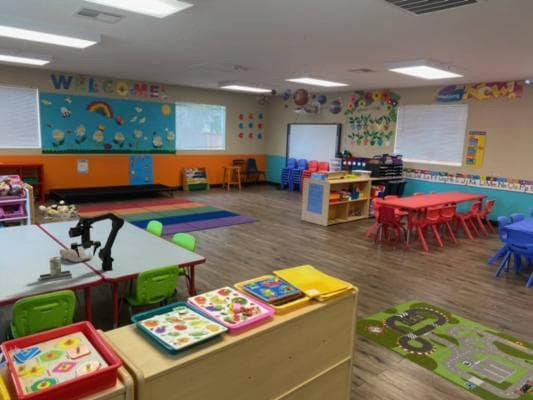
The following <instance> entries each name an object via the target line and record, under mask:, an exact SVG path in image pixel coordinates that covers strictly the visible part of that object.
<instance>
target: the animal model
mask: <svg viewBox="0 0 533 400" xmlns="http://www.w3.org/2000/svg"><path fill="white" fill-rule="evenodd" d="M74 243H77V244H79V243H78V242H77V241H75V242H74ZM88 249H89V248H86V249H83V247H78V252H79V257H78V255H77V253H76V251H75V250H73V249H71V247H70V248H68V249H66V248H65V249H60V250H59V255H60V258H63V259H65V260H68V261H71V262H74V263H80V262H84V261H86V260H89V259H90V260H91V259H93V254H92V253H90V252H89V254H87V255H86V253H85V251H86V250H88Z"/></svg>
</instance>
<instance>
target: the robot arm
mask: <svg viewBox="0 0 533 400" xmlns="http://www.w3.org/2000/svg"><path fill="white" fill-rule="evenodd" d="M106 220H110V221H111V230H110V233H109V235H108V237H107V239H106V241H105V245H104V246H103V248H101V247H102V243H101V241H100V240H95V241H94V240H91V229H93V228H94V226H92V225H93V224H95V223H97V222H101V221H106ZM124 225H125V219H124V218H123V217H119V216H118V215H116V214H114V213H113V212H110V211H108V212H105V213H101V214H98V215H97V214H96V215H93V216H89V215H88V216H87V215H86V216H81V217H80V218H79V220H78V222H77V224H76V225H75V226H73V227H71V226H70V227H69V230H68V233H67V234H68V237H69V238H70V239H73V238H79V237H80V239H81V241H80V243H78V242H77V243H78V244H77V243H75V242H73V243H72V242H71V243H70V248H71V249H73V250H75V251H76V253H77V255H78V257H79V252H78V249H79V248H81V247H83V249H86V248H88V249H91V248H92V247H93V249H92V253H93V254H92V257H95V255H96V251H97V250H98V249H99V251H98V253H97V254H98V255H97V256H98V258H99V259H100V261H101V270H102V271H103V272H108V271H113V262H114V261H115V258H114V257H112V248H113V245H114V243H115V240H116V238H117V235H118V234H119V231H120V230H121V229H122V228H123V227H124ZM86 250H87V249H86Z"/></svg>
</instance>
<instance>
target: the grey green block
mask: <svg viewBox="0 0 533 400" xmlns="http://www.w3.org/2000/svg"><path fill="white" fill-rule="evenodd" d="M49 270H50V271H49V272H50V273H49V274H50V275H51V276H57V275H61V272H62V260H61V256H59V257H51V258H49Z"/></svg>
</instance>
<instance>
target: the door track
mask: <svg viewBox="0 0 533 400" xmlns="http://www.w3.org/2000/svg"><path fill="white" fill-rule="evenodd" d="M67 278H68V279H72V278H73V275H72V272H71V271H70V270H69V269H68V270H64V271H62V270H61V275H57V276H51V275H50V273H43V274H40V275H39V279H40V281H41V283H42V284H44V283H49V282H50V283H51V282H54V281H61V280H62V281H63V280H66V279H67Z"/></svg>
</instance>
